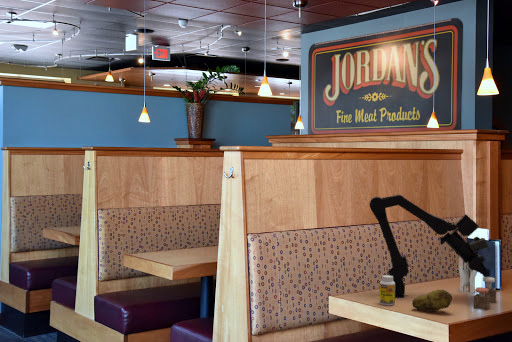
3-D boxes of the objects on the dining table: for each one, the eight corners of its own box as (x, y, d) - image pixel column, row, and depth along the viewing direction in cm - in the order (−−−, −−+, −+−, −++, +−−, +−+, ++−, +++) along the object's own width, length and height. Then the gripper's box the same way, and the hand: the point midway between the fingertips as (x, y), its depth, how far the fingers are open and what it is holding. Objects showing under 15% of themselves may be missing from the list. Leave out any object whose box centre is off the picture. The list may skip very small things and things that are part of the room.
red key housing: (473, 308, 223) (473, 296, 222) (476, 305, 226) (476, 293, 226) (486, 310, 220) (487, 297, 220) (489, 307, 224) (490, 295, 224)
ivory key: (483, 292, 233) (484, 278, 233) (481, 290, 237) (482, 276, 237) (495, 293, 232) (495, 279, 232) (493, 290, 236) (493, 277, 236)
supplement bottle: (378, 305, 225) (378, 276, 225) (380, 301, 230) (380, 274, 230) (394, 306, 223) (394, 278, 223) (395, 303, 228) (396, 275, 228)
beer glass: (477, 293, 247) (478, 256, 246) (459, 292, 248) (460, 255, 248) (475, 290, 254) (475, 253, 253) (457, 289, 255) (458, 252, 255)
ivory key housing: (482, 301, 233) (483, 290, 233) (480, 299, 237) (481, 287, 237) (495, 302, 232) (496, 290, 232) (493, 299, 236) (493, 288, 236)
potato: (421, 306, 224) (421, 284, 224) (455, 313, 215) (455, 290, 215) (409, 310, 218) (410, 287, 218) (443, 317, 209) (444, 293, 209)
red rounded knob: (474, 303, 223) (474, 288, 222) (477, 301, 226) (477, 286, 226) (486, 305, 220) (487, 290, 220) (489, 302, 224) (489, 288, 224)
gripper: (479, 233, 226) (510, 265, 224) (471, 227, 244) (500, 257, 242) (456, 254, 227) (487, 285, 226) (449, 247, 246) (478, 276, 244)
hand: (488, 275), depth 234 cm, fingers closed
